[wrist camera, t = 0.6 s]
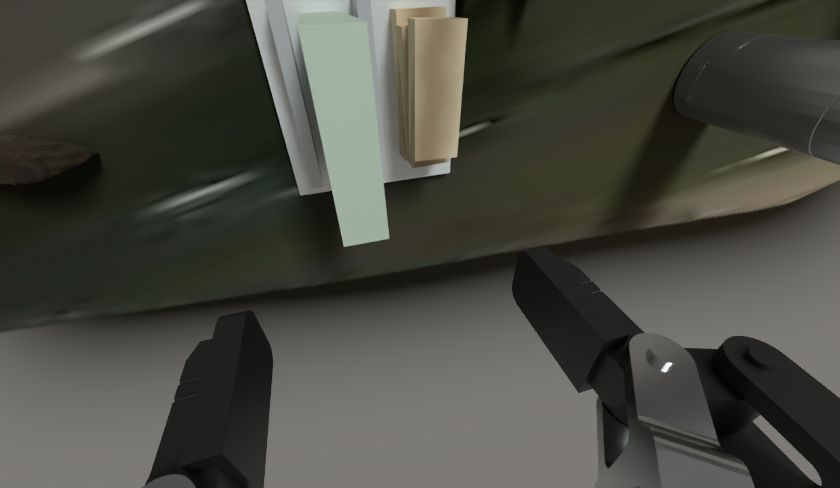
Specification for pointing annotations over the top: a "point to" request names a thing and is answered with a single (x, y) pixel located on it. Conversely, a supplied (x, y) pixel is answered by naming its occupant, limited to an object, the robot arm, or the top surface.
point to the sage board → (346, 120)
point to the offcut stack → (428, 82)
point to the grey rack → (287, 75)
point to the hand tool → (37, 158)
